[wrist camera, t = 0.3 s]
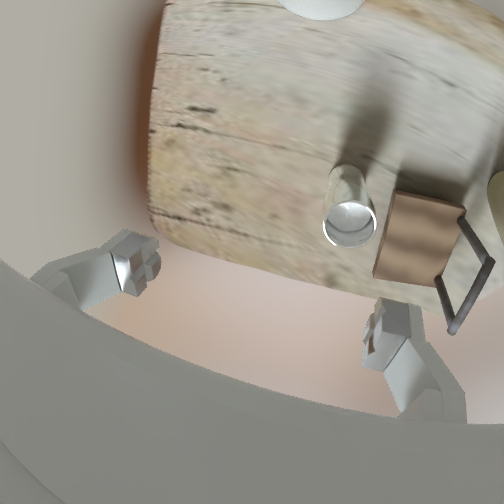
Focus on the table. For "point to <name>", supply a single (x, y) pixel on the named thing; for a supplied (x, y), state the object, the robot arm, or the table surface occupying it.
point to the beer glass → (348, 209)
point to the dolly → (428, 248)
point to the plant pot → (497, 201)
